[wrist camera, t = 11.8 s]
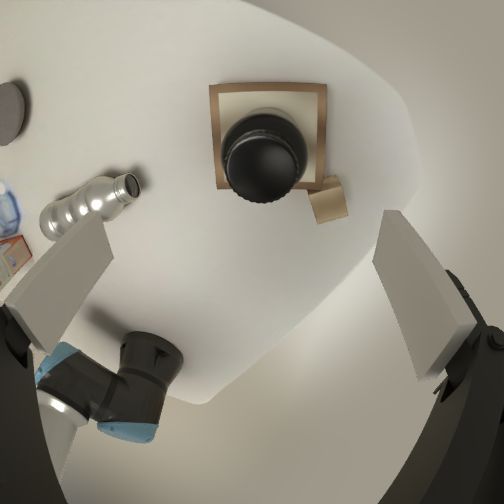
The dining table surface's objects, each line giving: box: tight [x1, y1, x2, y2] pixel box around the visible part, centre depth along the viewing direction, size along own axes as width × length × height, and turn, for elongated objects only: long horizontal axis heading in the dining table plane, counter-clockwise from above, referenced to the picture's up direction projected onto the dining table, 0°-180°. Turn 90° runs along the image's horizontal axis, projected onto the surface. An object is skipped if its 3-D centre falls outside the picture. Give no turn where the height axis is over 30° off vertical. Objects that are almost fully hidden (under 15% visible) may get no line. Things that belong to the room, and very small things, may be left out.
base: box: [209, 82, 327, 190], centre depth 28 cm, size 12×12×4 cm
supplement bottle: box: [220, 107, 308, 203], centre depth 22 cm, size 7×7×12 cm
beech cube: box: [307, 175, 349, 224], centre depth 32 cm, size 4×4×4 cm
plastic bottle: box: [40, 173, 141, 241], centre depth 34 cm, size 6×7×20 cm
